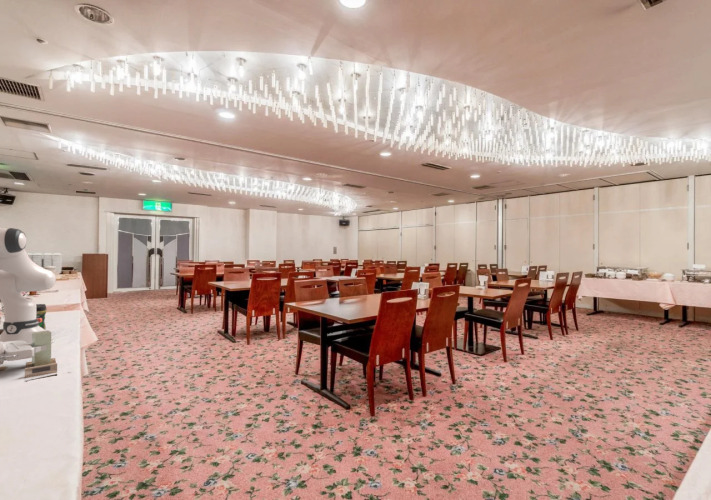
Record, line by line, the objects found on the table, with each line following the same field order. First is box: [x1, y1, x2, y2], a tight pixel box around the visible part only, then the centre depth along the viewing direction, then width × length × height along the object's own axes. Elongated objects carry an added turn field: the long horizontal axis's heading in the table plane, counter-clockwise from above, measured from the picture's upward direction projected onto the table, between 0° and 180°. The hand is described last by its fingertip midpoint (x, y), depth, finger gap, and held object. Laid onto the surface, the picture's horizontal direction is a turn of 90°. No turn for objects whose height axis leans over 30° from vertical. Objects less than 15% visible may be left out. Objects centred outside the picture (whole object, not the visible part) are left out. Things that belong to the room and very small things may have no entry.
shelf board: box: [24, 357, 58, 382], centre depth 136 cm, size 24×9×4 cm, turn 43°
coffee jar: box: [36, 303, 48, 331], centre depth 188 cm, size 10×8×19 cm
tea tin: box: [31, 329, 52, 367], centre depth 141 cm, size 5×5×13 cm
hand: (44, 345), depth 141 cm, fingers open, 5 cm apart
